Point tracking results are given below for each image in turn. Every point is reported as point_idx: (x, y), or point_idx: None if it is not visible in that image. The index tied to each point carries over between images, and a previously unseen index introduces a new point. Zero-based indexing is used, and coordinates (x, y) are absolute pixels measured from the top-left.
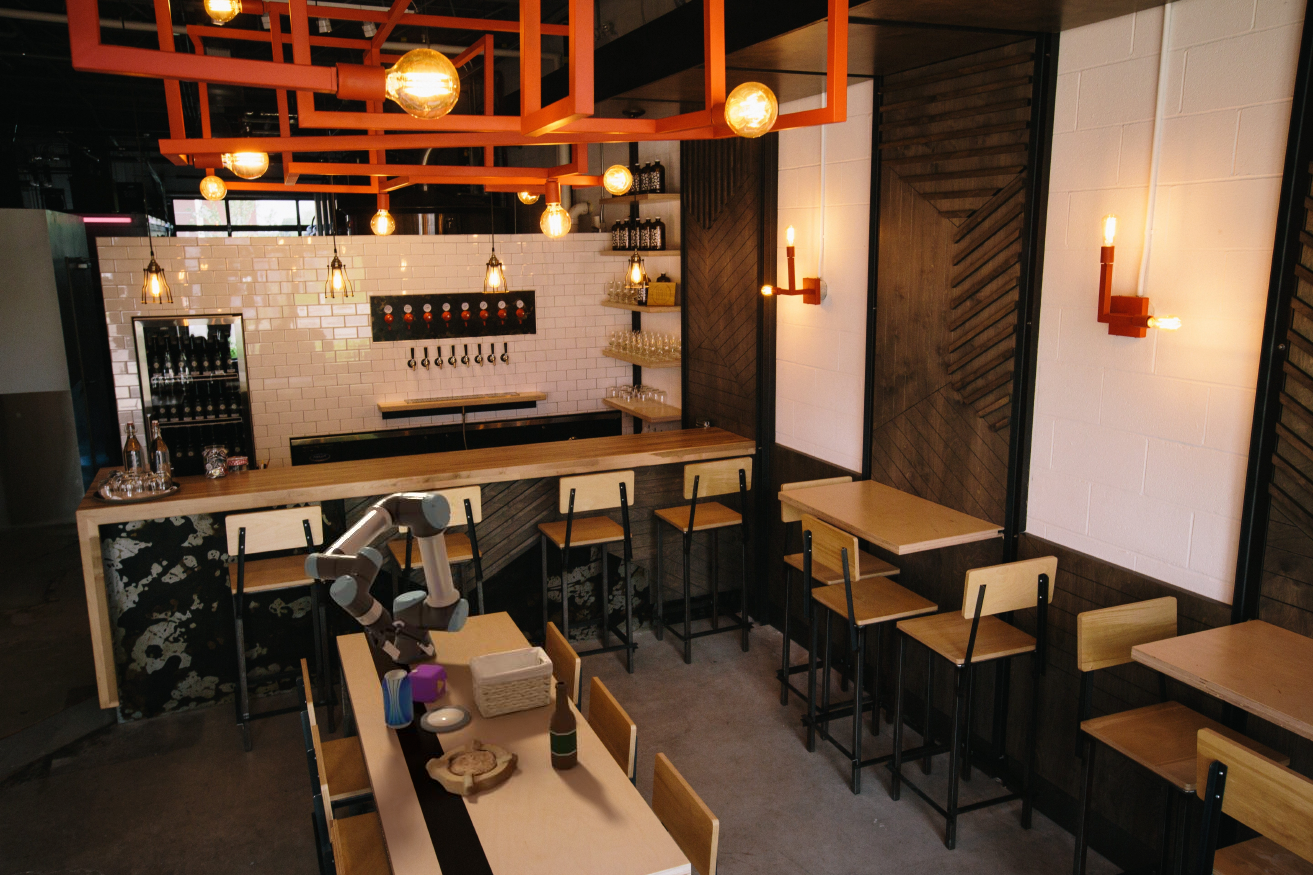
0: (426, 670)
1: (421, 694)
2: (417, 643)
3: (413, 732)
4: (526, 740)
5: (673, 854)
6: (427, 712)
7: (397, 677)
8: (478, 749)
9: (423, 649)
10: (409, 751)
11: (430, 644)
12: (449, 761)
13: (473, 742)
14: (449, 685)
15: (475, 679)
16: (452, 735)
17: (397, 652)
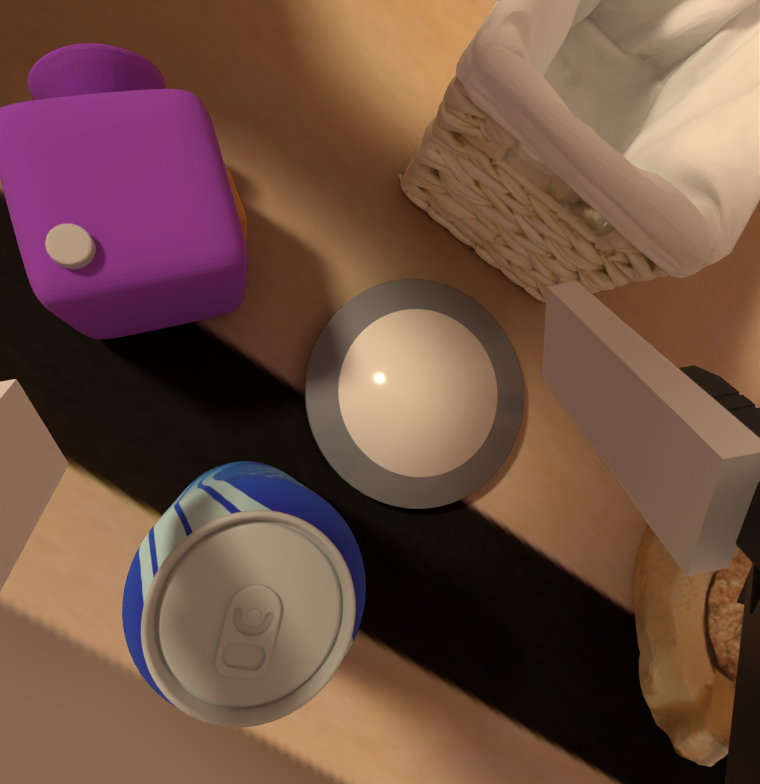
0: (136, 190)
1: (184, 317)
2: (692, 570)
3: (373, 553)
4: (753, 359)
5: None
6: (310, 402)
7: (304, 634)
8: None
9: (608, 459)
10: (480, 671)
11: (614, 323)
12: (716, 666)
13: None
14: None
15: (501, 163)
16: (531, 475)
17: (17, 430)
